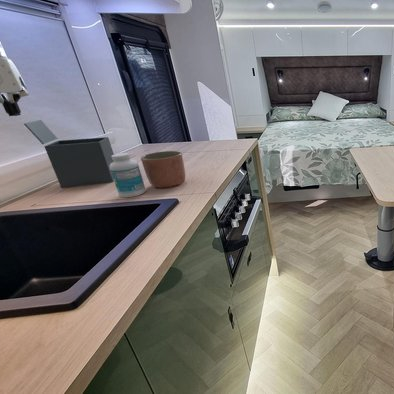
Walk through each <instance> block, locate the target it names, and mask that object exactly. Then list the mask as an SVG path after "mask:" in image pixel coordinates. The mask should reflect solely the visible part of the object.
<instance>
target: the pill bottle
mask: <svg viewBox="0 0 394 394" xmlns="http://www.w3.org/2000/svg"><path fill="white" fill-rule="evenodd" d="M113 154H114V153H113ZM112 159H113V160H114V162H112V163H111V164H110V166H109V167H110V170H111V173H112V176H113V179H114V181H113V183H114V184H115V188H116V190H117V194H118V196H119V197H121V198H133V197H137V196H140V195H142V194H144V193H145V192H146V190H147V189H146V186H145V183H144V179H143V176H142V173H141V169H140V166H139V162H138V161H137V160H135V159H131V154H130V153H129V152H119V153H115V154H114V155H112Z"/></svg>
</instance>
